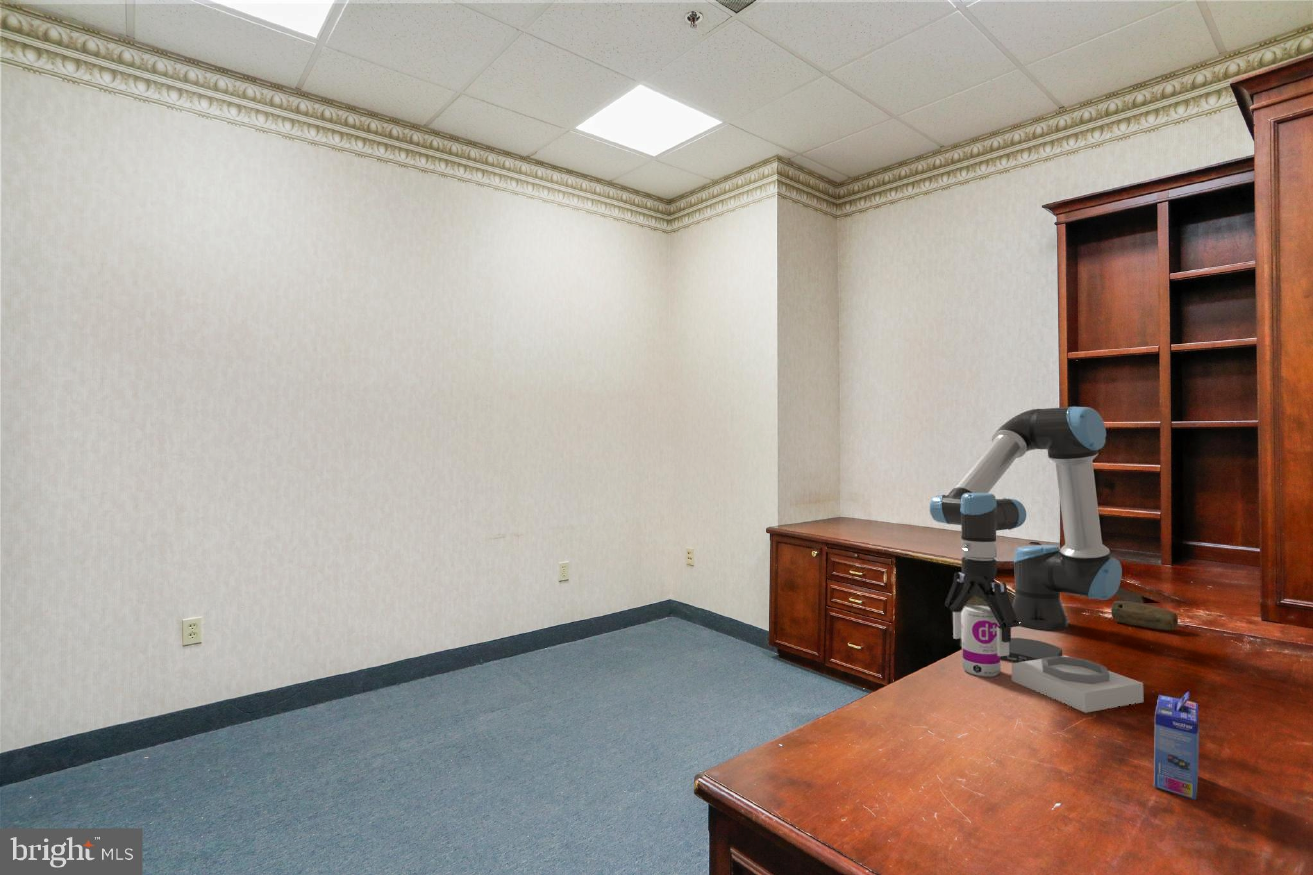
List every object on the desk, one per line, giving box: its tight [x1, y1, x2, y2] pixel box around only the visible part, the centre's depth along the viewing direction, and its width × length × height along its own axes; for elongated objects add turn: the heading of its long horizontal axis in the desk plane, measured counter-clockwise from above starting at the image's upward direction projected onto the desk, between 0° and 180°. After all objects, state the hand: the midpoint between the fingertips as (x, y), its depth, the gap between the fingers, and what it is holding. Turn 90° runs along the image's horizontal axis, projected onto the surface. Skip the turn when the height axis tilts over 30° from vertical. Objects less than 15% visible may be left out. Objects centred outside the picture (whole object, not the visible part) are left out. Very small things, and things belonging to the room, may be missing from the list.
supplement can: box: [961, 604, 1002, 678], centre depth 151 cm, size 8×8×15 cm
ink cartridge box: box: [1153, 691, 1200, 801], centre depth 102 cm, size 10×6×14 cm, turn 139°
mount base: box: [1011, 655, 1145, 714], centre depth 138 cm, size 18×16×6 cm
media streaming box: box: [1000, 637, 1063, 663], centre depth 161 cm, size 15×15×3 cm
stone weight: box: [1110, 600, 1179, 631], centre depth 184 cm, size 15×7×7 cm, turn 43°
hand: (980, 646), depth 151 cm, fingers open, 13 cm apart
